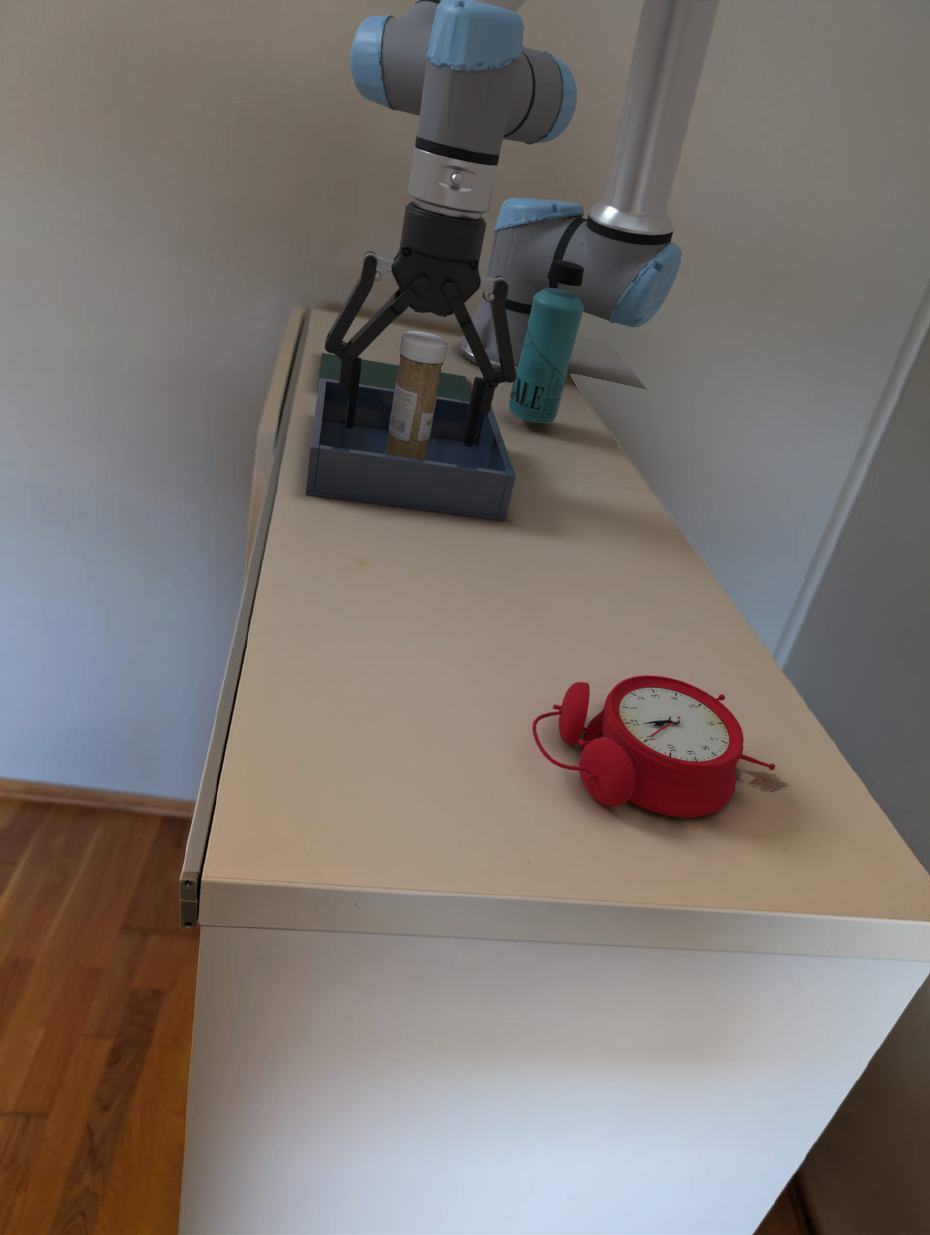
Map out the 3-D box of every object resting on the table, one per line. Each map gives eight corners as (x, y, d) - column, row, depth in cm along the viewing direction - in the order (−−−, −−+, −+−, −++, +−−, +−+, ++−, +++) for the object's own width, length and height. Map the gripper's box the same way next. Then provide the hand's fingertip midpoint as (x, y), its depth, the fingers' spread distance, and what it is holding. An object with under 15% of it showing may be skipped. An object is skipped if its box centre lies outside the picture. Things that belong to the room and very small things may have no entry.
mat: (465, 380, 121) (465, 376, 120) (475, 416, 109) (476, 412, 109) (321, 356, 117) (322, 352, 117) (316, 391, 105) (317, 387, 105)
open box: (482, 444, 102) (491, 404, 99) (505, 521, 85) (516, 476, 83) (315, 419, 98) (319, 377, 95) (305, 494, 82) (310, 446, 79)
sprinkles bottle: (431, 472, 91) (455, 346, 84) (391, 472, 89) (412, 343, 82) (415, 454, 94) (437, 331, 87) (376, 454, 92) (395, 327, 85)
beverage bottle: (553, 421, 113) (595, 263, 103) (553, 439, 108) (597, 273, 97) (505, 410, 113) (542, 251, 103) (502, 428, 108) (540, 260, 97)
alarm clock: (798, 776, 54) (602, 739, 48) (743, 843, 57) (552, 816, 51) (720, 674, 62) (546, 631, 56) (676, 738, 65) (505, 703, 59)
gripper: (311, 187, 73) (289, 428, 84) (581, 241, 77) (525, 463, 89) (315, 175, 79) (294, 402, 90) (565, 226, 83) (515, 436, 95)
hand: (409, 433), depth 90 cm, fingers open, 12 cm apart
